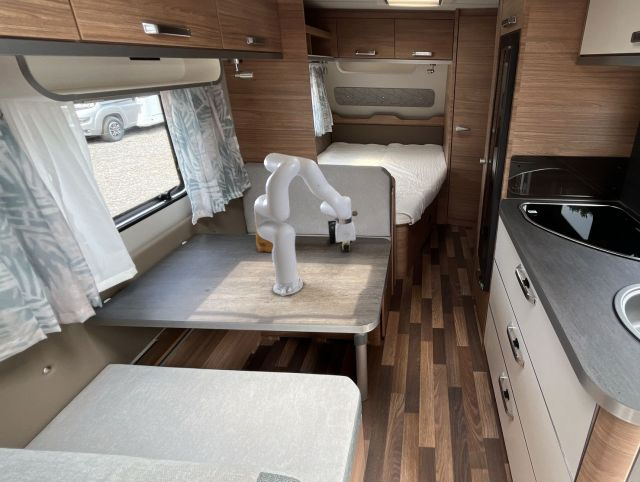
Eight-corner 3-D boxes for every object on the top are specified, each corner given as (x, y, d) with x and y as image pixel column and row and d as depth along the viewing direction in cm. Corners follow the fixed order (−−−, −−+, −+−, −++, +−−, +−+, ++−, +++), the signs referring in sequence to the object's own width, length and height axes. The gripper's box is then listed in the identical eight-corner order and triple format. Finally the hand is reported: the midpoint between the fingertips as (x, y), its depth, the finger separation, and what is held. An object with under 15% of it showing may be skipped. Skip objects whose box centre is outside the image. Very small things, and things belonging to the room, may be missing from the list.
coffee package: (262, 243, 189) (256, 207, 181) (284, 243, 189) (279, 207, 181) (254, 252, 179) (248, 215, 171) (278, 252, 180) (272, 215, 172)
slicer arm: (358, 213, 191) (355, 208, 189) (358, 215, 188) (356, 210, 187) (331, 227, 189) (328, 223, 188) (331, 229, 186) (328, 225, 185)
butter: (349, 251, 182) (349, 244, 181) (343, 252, 181) (342, 245, 180) (348, 245, 189) (348, 238, 187) (342, 246, 188) (341, 239, 186)
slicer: (337, 239, 194) (336, 219, 190) (338, 244, 189) (337, 224, 185) (328, 240, 193) (327, 220, 189) (329, 245, 188) (327, 225, 183)
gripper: (330, 224, 168) (332, 256, 175) (359, 221, 172) (361, 252, 179) (329, 218, 175) (331, 249, 181) (358, 215, 179) (359, 246, 185)
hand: (346, 250), depth 180 cm, fingers closed
